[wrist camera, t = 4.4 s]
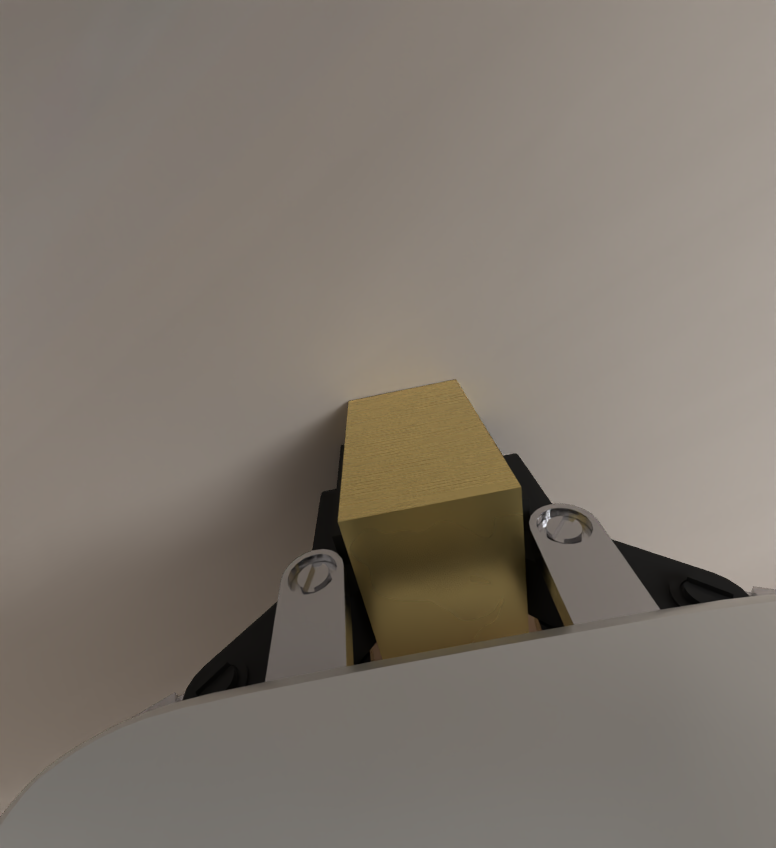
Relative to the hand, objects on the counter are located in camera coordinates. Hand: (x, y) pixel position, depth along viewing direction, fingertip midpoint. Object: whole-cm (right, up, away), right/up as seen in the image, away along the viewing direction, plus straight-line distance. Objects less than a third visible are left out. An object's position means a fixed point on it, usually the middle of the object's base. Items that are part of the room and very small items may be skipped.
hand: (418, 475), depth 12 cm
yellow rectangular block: (0, 0, 0) cm, 0 cm away
